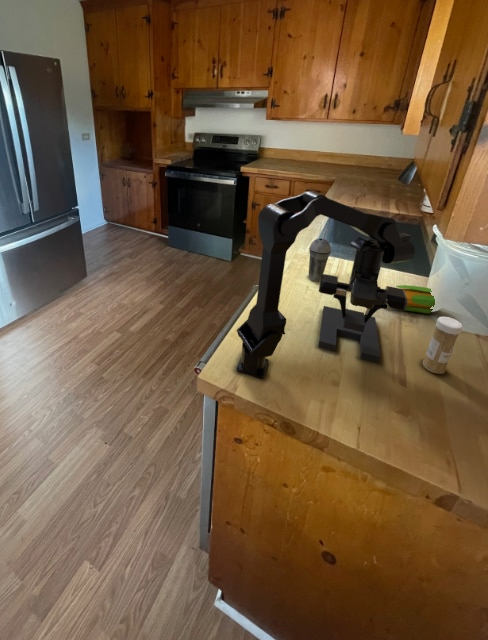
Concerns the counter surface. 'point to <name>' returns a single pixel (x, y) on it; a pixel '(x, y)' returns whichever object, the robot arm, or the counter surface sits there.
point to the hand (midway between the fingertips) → (353, 319)
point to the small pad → (354, 320)
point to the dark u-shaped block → (348, 334)
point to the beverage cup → (318, 257)
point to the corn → (418, 298)
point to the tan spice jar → (442, 344)
